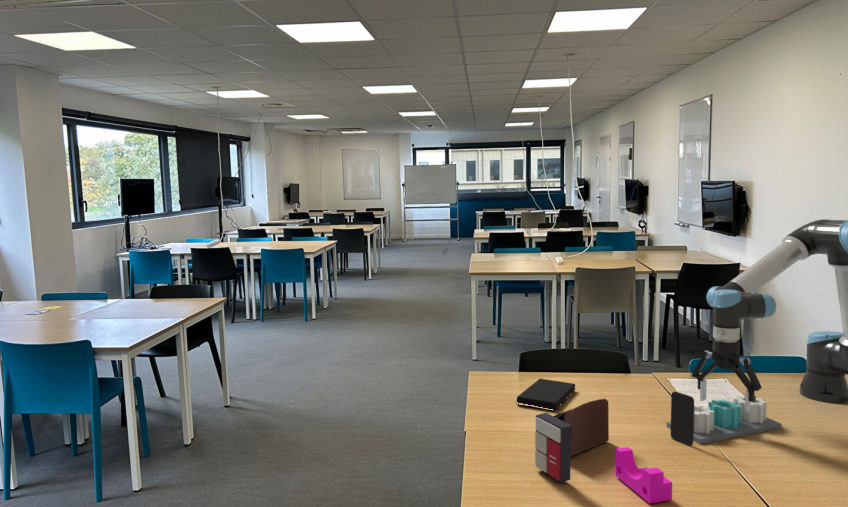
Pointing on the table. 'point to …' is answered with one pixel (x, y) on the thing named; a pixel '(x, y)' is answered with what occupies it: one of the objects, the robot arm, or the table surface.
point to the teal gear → (725, 413)
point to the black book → (546, 393)
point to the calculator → (553, 446)
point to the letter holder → (587, 425)
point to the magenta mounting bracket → (642, 478)
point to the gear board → (749, 425)
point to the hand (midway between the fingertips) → (724, 405)
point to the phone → (682, 418)
